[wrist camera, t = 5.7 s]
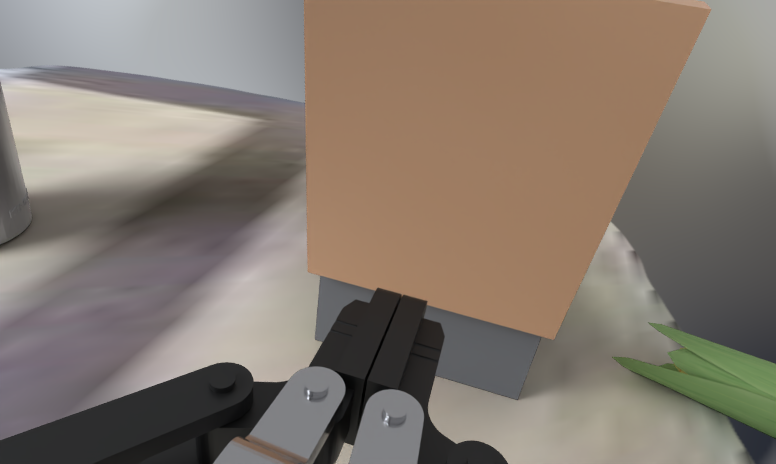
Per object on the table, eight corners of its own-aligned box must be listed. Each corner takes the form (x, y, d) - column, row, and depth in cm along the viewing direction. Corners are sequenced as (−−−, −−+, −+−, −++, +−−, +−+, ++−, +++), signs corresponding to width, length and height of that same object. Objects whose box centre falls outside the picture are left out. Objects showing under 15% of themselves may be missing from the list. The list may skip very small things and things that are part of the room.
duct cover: (314, 260, 29) (307, 271, 28) (313, -62, 19) (303, -58, 18) (554, 325, 27) (553, 340, 26) (704, 1, 16) (711, 9, 16)
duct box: (314, 339, 32) (321, 261, 29) (381, 229, 46) (390, 168, 43) (517, 399, 30) (546, 322, 27) (523, 265, 44) (543, 204, 41)
